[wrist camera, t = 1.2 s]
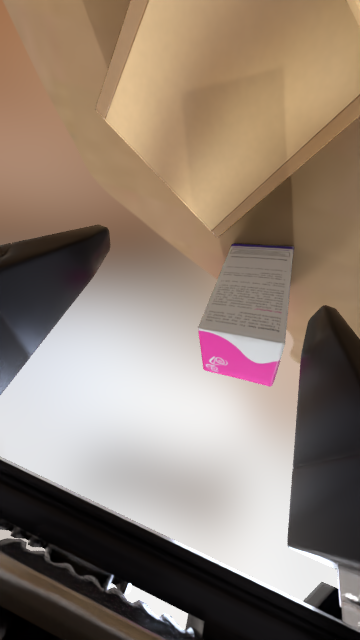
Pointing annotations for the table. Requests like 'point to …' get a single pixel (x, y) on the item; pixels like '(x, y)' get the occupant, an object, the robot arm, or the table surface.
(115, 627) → the robot arm
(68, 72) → the table surface
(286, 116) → the shelf
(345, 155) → the table surface
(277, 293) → the supplement box
